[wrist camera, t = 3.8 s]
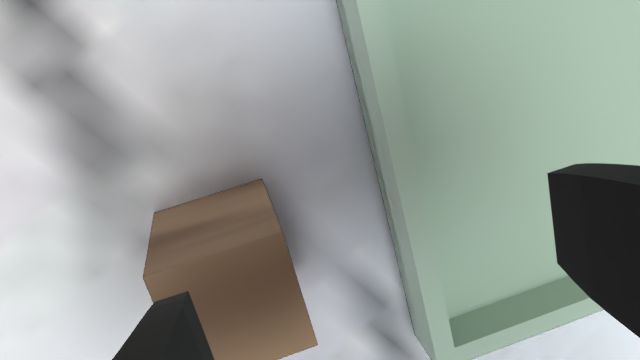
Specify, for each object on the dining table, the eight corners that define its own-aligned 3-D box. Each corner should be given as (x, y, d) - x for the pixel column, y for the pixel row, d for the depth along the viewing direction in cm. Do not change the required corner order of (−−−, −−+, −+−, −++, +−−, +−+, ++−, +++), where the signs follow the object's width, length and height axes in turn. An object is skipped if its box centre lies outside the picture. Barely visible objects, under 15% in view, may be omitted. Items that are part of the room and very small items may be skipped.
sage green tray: (729, 220, 26) (782, 242, 23) (414, 335, 24) (439, 371, 22) (732, -222, 20) (805, -253, 17) (309, -113, 18) (327, -130, 15)
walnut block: (290, 270, 22) (317, 345, 17) (191, 305, 21) (191, 390, 17) (261, 178, 20) (282, 231, 16) (154, 212, 20) (142, 277, 15)
